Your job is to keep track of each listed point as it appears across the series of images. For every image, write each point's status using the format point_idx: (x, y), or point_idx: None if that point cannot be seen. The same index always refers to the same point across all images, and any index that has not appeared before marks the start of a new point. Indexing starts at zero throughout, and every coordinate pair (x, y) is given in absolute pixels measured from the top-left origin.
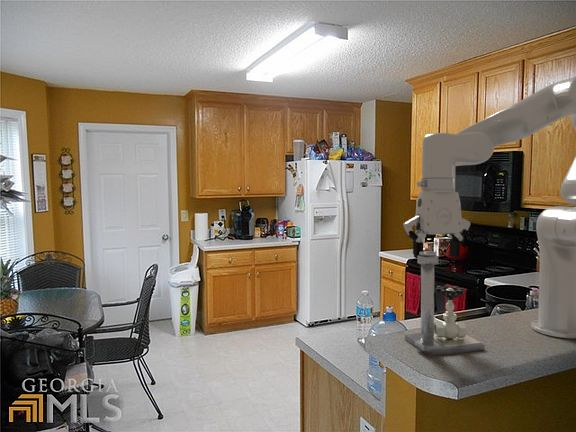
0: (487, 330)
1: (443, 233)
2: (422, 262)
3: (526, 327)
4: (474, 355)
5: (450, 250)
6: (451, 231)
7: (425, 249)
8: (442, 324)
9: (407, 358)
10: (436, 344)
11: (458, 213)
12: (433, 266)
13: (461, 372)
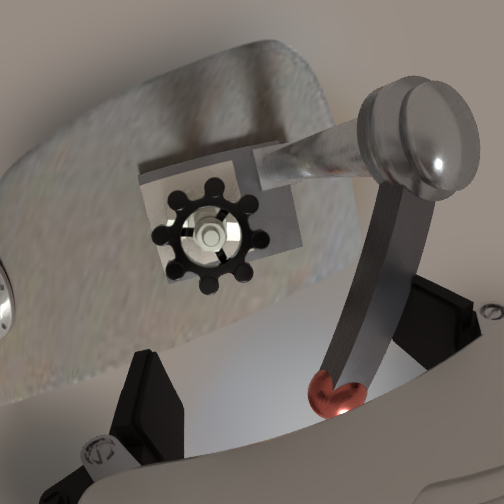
0: (92, 304)
1: (362, 406)
2: None
3: (22, 317)
4: (175, 143)
5: (179, 423)
6: (236, 466)
7: (358, 390)
8: (229, 213)
9: None
10: (259, 155)
11: None
12: None
13: (239, 65)
